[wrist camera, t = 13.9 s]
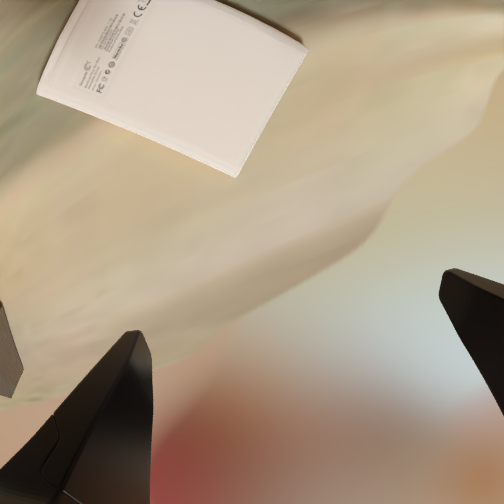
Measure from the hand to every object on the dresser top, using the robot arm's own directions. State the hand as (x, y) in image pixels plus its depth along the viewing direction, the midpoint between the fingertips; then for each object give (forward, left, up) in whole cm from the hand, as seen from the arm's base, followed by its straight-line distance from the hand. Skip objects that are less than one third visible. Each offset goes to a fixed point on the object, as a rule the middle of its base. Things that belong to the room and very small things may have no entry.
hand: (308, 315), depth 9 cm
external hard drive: (-7, -6, -12) cm, 15 cm away
